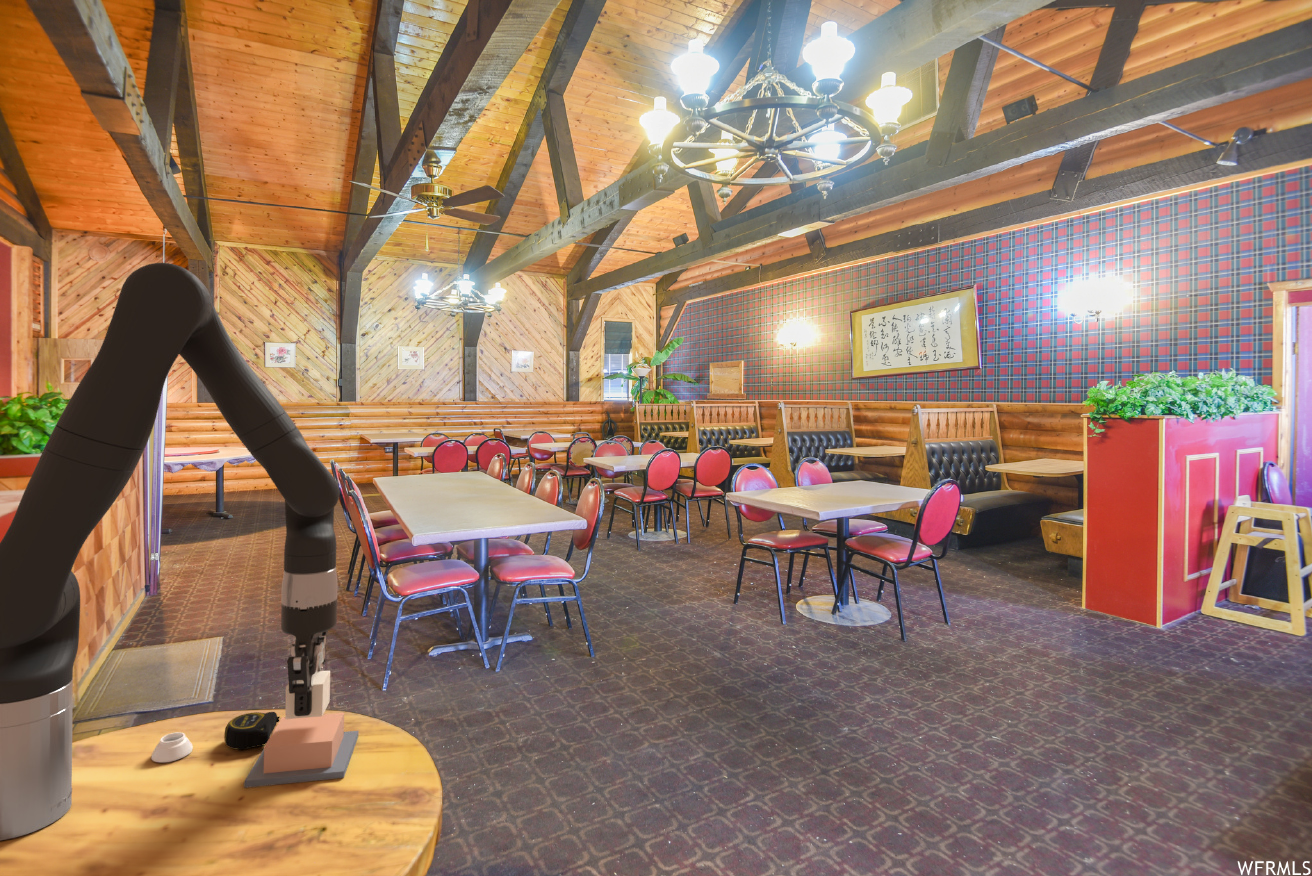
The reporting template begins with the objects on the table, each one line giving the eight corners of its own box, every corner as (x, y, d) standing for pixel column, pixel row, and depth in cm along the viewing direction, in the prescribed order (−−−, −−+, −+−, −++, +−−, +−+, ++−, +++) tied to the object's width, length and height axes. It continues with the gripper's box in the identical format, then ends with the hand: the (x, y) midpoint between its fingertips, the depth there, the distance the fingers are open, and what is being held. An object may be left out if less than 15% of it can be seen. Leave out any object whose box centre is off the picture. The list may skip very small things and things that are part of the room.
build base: (244, 787, 91) (244, 753, 90) (270, 743, 102) (271, 713, 102) (343, 777, 94) (344, 745, 94) (358, 736, 106) (359, 707, 105)
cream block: (285, 719, 95) (285, 686, 95) (294, 703, 100) (295, 672, 99) (322, 716, 96) (322, 684, 96) (329, 701, 101) (330, 670, 101)
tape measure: (267, 751, 100) (267, 728, 100) (217, 756, 98) (217, 732, 98) (279, 730, 107) (280, 708, 107) (232, 734, 105) (233, 711, 105)
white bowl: (198, 746, 101) (162, 748, 100) (198, 728, 101) (162, 730, 100) (182, 763, 96) (144, 766, 95) (183, 744, 96) (144, 747, 95)
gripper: (295, 585, 103) (293, 687, 104) (267, 614, 89) (265, 732, 90) (346, 583, 105) (343, 684, 106) (326, 611, 91) (323, 727, 92)
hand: (307, 705), depth 98 cm, fingers closed on cream block, 5 cm apart
